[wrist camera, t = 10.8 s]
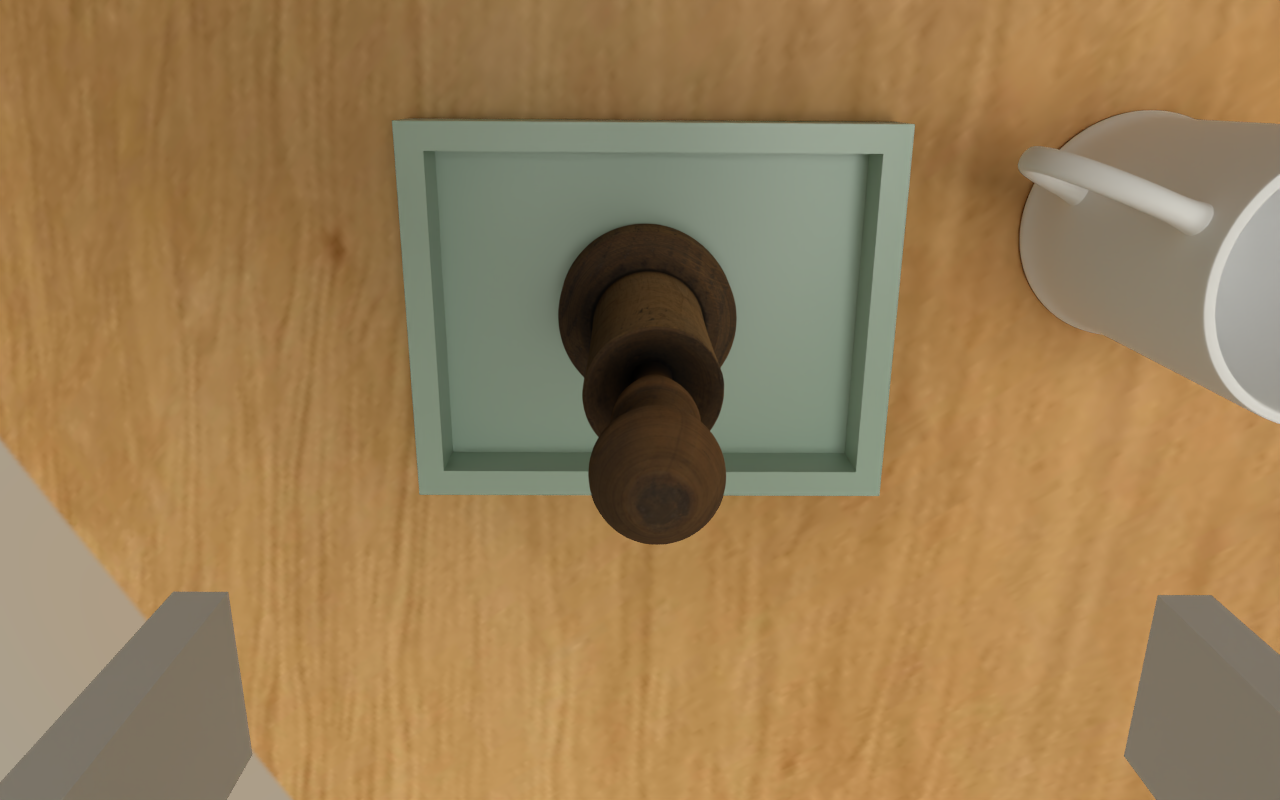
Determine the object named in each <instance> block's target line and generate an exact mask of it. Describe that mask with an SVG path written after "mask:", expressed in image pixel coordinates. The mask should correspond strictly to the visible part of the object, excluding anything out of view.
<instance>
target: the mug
mask: <svg viewBox="0 0 1280 800" xmlns="http://www.w3.org/2000/svg"><path fill="white" fill-rule="evenodd" d="M1018 169H1019V171H1020V172H1021V174H1023V175H1024V176H1025V177H1026V178H1028V179H1029V180H1031V181H1032V182H1034V185H1033V187H1032V189H1031V191H1030V194H1029V196H1028V199H1027V201H1026V204H1025V207H1024V211H1023V215H1022V220H1021V226H1020V254H1021V261H1022V265H1023V269H1024V272H1025V275H1026V278H1027V280H1028V282H1029V284H1030V286H1031V288H1032V290H1033V292H1034V293H1035V295H1036V296H1037V298H1038V299H1039V300H1040V301H1041V303H1042V304H1043V305H1044V306H1045V307H1046V308H1047V309H1048V310H1049V311H1050V312H1051V313H1053V314H1054V315H1055V316H1056V317H1058V318H1059V319H1061V320H1062V321H1064V322H1066V323H1067V324H1069V325H1071V326H1073V327H1076V328H1078V329H1081V330H1084V331H1087V332H1091V333H1096V334H1102V335H1105V336H1107V337H1109V338H1110V339H1112V340H1114V341H1116V342H1118V343H1120V344H1122V345H1124V346H1126V347H1128V348H1130V349H1132V350H1134V351H1136V352H1137V353H1139V354H1141V355H1143V356H1145V357H1147V358H1149V359H1151V360H1153V361H1155V362H1157V363H1159V364H1161V365H1162V366H1164V367H1166V368H1168V369H1170V370H1172V371H1174V372H1176V373H1178V374H1180V375H1182V376H1184V377H1186V378H1187V379H1189V380H1191V381H1193V382H1195V383H1197V384H1199V385H1201V386H1203V387H1205V388H1207V389H1209V390H1211V391H1212V392H1214V393H1216V394H1218V395H1220V396H1222V397H1224V398H1226V399H1228V400H1230V401H1232V402H1234V403H1236V404H1237V405H1239V406H1241V407H1243V408H1245V409H1247V410H1249V411H1251V412H1253V413H1255V414H1257V415H1259V416H1261V417H1263V418H1265V419H1268V420H1270V421H1273V422H1275V423H1278V424H1280V124H1270V123H1252V122H1233V121H1215V120H1198V119H1193V118H1191V117H1188V116H1185V115H1182V114H1179V113H1174V112H1169V111H1161V110H1142V111H1133V112H1128V113H1123V114H1120V115H1116V116H1113V117H1110V118H1107V119H1105V120H1102V121H1100V122H1098V123H1096V124H1094V125H1092V126H1090V127H1089V128H1087V129H1085V130H1084V131H1082V132H1081V133H1079V134H1078V135H1076V136H1075V137H1074V138H1072V139H1071V140H1070V141H1068V142H1067V143H1066V144H1065V145H1064V146H1063V147H1062V148H1061V149H1060V150H1058V149H1054V148H1049V147H1043V146H1033V147H1030V148H1028V149H1027V150H1026V151H1025V152H1024V153H1023V154H1022V156H1021V158H1020V160H1019V163H1018Z"/></svg>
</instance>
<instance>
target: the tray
mask: <svg viewBox="0 0 1280 800" xmlns="http://www.w3.org/2000/svg"><path fill="white" fill-rule="evenodd" d="M392 127H393V141H394V154H395V168H396V181H397V195H398V209H399V222H400V236H401V249H402V263H403V276H404V290H405V304H406V317H407V331H408V344H409V358H410V372H411V385H412V399H413V412H414V426H415V439H416V453H417V467H418V480H419V494H420V495H591V492H590V487H589V478H588V470H589V461H590V457H591V453H592V450H593V447H594V445H595V443H596V441H597V439H598V438H599V437H598V436H597V435H596V434H595V432H594V431H593V429H592V428H591V426H590V424H589V422H588V420H587V417H586V414H585V411H584V407H583V400H582V390H583V382H584V377H583V376H582V375H581V374H580V373H579V372H578V370H577V369H576V368H575V366H574V365H573V364H572V362H571V360H570V359H569V357H568V355H567V353H566V351H565V348H564V346H563V343H562V339H561V335H560V331H559V322H558V308H559V300H560V295H561V291H562V287H563V284H564V281H565V278H566V275H567V273H568V271H569V269H570V267H571V265H572V264H573V262H574V261H575V259H576V258H577V257H578V255H579V254H580V253H581V252H582V251H583V250H584V249H585V248H586V247H587V246H588V245H589V244H590V243H591V242H592V241H594V240H595V239H597V238H598V237H600V236H601V235H603V234H605V233H607V232H609V231H611V230H614V229H616V228H619V227H623V226H627V225H632V224H646V223H647V224H658V225H663V226H667V227H671V228H674V229H677V230H679V231H681V232H683V233H685V234H687V235H689V236H691V237H692V238H694V239H695V240H696V241H698V242H699V243H700V244H702V245H703V246H704V247H705V248H706V249H707V250H708V251H709V252H710V253H711V254H712V255H713V257H714V258H715V259H716V260H717V262H718V263H719V265H720V266H721V268H722V270H723V271H724V273H725V275H726V277H727V280H728V282H729V285H730V287H731V290H732V293H733V296H734V300H735V305H736V314H737V322H736V332H735V337H734V341H733V344H732V347H731V350H730V352H729V354H728V356H727V358H726V360H725V362H724V363H723V365H722V366H721V368H720V369H721V371H722V374H723V378H724V399H723V404H722V408H721V411H720V414H719V417H718V419H717V421H716V423H715V424H714V426H713V428H712V429H711V431H710V432H711V433H712V434H713V436H714V437H715V439H716V440H717V442H718V444H719V446H720V448H721V451H722V454H723V457H724V461H725V467H726V485H725V491H724V495H736V496H879V494H880V483H881V473H882V462H883V452H884V442H885V431H886V421H887V410H888V400H889V389H890V379H891V369H892V358H893V348H894V337H895V327H896V316H897V306H898V296H899V285H900V275H901V264H902V254H903V243H904V233H905V223H906V212H907V202H908V191H909V181H910V170H911V160H912V150H913V139H914V129H915V124H909V123H901V122H862V121H719V120H577V119H434V118H408V119H400V120H392Z"/></svg>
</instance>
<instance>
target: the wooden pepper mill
mask: <svg viewBox="0 0 1280 800" xmlns="http://www.w3.org/2000/svg"><path fill="white" fill-rule="evenodd" d="M558 322H559V331H560V335H561V339H562V343H563V346H564V348H565V351H566V353H567V355H568V357H569V359H570V360H571V362H572V364H573V365H574V366H575V368H576V369H577V370H578V372H579V373H580V374H581V375H582V376H583V377H584V382H583V390H582V400H583V407H584V411H585V414H586V417H587V420H588V422H589V424H590V426H591V428H592V429H593V431H594V432H595V434H596V435H597V436H598V437H599V438H598V439H597V441H596V443H595V445H594V447H593V450H592V453H591V457H590V461H589V470H588V478H589V487H590V492H591V495H592V498H593V501H594V503H595V505H596V507H597V509H598V511H599V512H600V514H601V515H602V517H603V518H604V519H605V520H606V522H607V523H608V524H609V525H610V526H611V527H612V528H613V529H615V530H616V531H617V532H619V533H620V534H622V535H623V536H625V537H627V538H629V539H632V540H634V541H637V542H640V543H645V544H669V543H674V542H677V541H681V540H683V539H685V538H687V537H690V536H691V535H693V534H695V533H696V532H698V531H699V530H700V529H701V528H703V527H704V526H705V525H706V524H707V523H708V522H709V521H710V519H711V518H712V517H713V516H714V514H715V513H716V511H717V509H718V507H719V506H720V503H721V501H722V498H723V495H724V491H725V485H726V467H725V461H724V457H723V454H722V451H721V448H720V446H719V444H718V442H717V440H716V439H715V437H714V436H713V434H712V433H711V432H710V431H711V429H712V428H713V426H714V424H715V423H716V421H717V419H718V417H719V414H720V411H721V408H722V404H723V399H724V378H723V374H722V371H721V369H720V368H721V366H722V365H723V363H724V362H725V360H726V358H727V356H728V354H729V352H730V350H731V347H732V344H733V341H734V337H735V332H736V322H737V314H736V305H735V300H734V296H733V293H732V290H731V287H730V285H729V282H728V280H727V277H726V275H725V273H724V271H723V270H722V268H721V266H720V265H719V263H718V262H717V260H716V259H715V258H714V257H713V255H712V254H711V253H710V252H709V251H708V250H707V249H706V248H705V247H704V246H703V245H702V244H700V243H699V242H698V241H696V240H695V239H694V238H692V237H691V236H689V235H687V234H685V233H683V232H681V231H679V230H677V229H674V228H671V227H667V226H663V225H658V224H647V223H646V224H632V225H627V226H623V227H619V228H616V229H614V230H611V231H609V232H607V233H605V234H603V235H601V236H600V237H598V238H597V239H595V240H594V241H592V242H591V243H590V244H589V245H588V246H587V247H586V248H585V249H584V250H583V251H582V252H581V253H580V254H579V255H578V257H577V258H576V259H575V261H574V262H573V264H572V265H571V267H570V269H569V271H568V273H567V275H566V278H565V281H564V284H563V287H562V291H561V295H560V300H559V308H558Z"/></svg>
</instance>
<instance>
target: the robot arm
mask: <svg viewBox="0 0 1280 800" xmlns="http://www.w3.org/2000/svg"><path fill="white" fill-rule="evenodd" d="M251 756H252V749H251V742H250V736H249V729H248V722H247V715H246V709H245V702H244V695H243V689H242V682H241V675H240V668H239V662H238V655H237V648H236V642H235V635H234V628H233V621H232V615H231V608H230V601H229V594H228V592H173V593H172V594H171V595H170V596H169V597H168V598H167V599H166V600H165V602H164V603H163V604H162V605H161V606H160V607H159V608H158V609H157V610H156V611H155V613H154V614H153V615H152V616H151V617H150V618H149V619H148V620H147V621H146V622H145V624H144V625H143V626H142V627H141V628H140V629H139V630H138V631H137V632H136V634H135V635H134V636H133V637H132V638H131V639H130V640H129V641H128V642H127V643H126V644H125V646H124V647H123V648H122V649H121V650H120V651H119V652H118V653H117V654H116V655H115V657H114V658H113V659H112V660H111V661H110V662H109V663H108V664H107V665H106V667H105V668H104V669H103V670H102V671H101V672H100V673H99V674H98V675H97V676H96V678H95V679H94V680H93V681H92V682H91V683H90V684H89V685H88V686H87V687H86V689H85V690H84V691H83V692H82V693H81V694H80V695H79V696H78V697H77V699H76V700H75V701H74V702H73V703H72V704H71V705H70V706H69V707H68V708H67V709H66V711H65V712H64V713H63V714H62V715H61V716H60V717H59V718H58V719H57V721H56V722H55V723H54V724H53V725H52V726H51V727H50V728H49V729H48V730H47V731H46V733H45V734H44V735H43V736H42V737H41V738H40V739H39V740H38V741H37V743H36V744H35V745H34V746H33V747H32V748H31V749H30V750H29V751H28V753H27V754H26V755H25V756H24V757H23V758H22V759H21V760H20V761H19V762H18V764H17V765H16V766H15V767H14V768H13V769H12V770H11V771H10V772H9V773H8V774H7V776H6V777H5V778H4V779H3V780H2V781H1V782H0V800H227V798H228V797H229V795H230V793H231V791H232V789H233V788H234V786H235V784H236V782H237V781H238V779H239V777H240V775H241V774H242V772H243V770H244V768H245V767H246V765H247V763H248V761H249V760H250V758H251ZM1124 757H1125V758H1126V759H1127V761H1128V762H1129V763H1130V765H1131V766H1132V767H1133V769H1134V770H1135V772H1136V773H1137V774H1138V776H1139V777H1140V778H1141V780H1142V781H1143V782H1144V784H1145V785H1146V786H1147V788H1148V789H1149V791H1150V792H1151V793H1152V795H1153V796H1154V797H1155V799H1156V800H1280V655H1279V654H1278V653H1277V652H1275V651H1274V650H1273V649H1272V648H1271V647H1270V646H1269V645H1267V644H1266V643H1265V642H1264V641H1263V640H1262V639H1261V638H1259V637H1258V636H1257V635H1256V634H1255V633H1254V632H1253V631H1251V630H1250V629H1249V628H1248V627H1247V626H1246V625H1245V624H1243V623H1242V622H1241V621H1240V620H1239V619H1238V618H1237V617H1235V616H1234V615H1233V614H1232V613H1231V612H1230V611H1229V610H1227V609H1226V608H1225V607H1224V606H1223V605H1222V604H1221V603H1220V602H1218V601H1217V600H1216V599H1215V598H1214V597H1213V596H1212V595H1158V597H1157V601H1156V606H1155V611H1154V616H1153V620H1152V625H1151V630H1150V635H1149V640H1148V644H1147V649H1146V654H1145V659H1144V663H1143V668H1142V673H1141V678H1140V682H1139V687H1138V692H1137V697H1136V701H1135V706H1134V711H1133V716H1132V721H1131V725H1130V730H1129V735H1128V740H1127V744H1126V749H1125V754H1124Z"/></svg>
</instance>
